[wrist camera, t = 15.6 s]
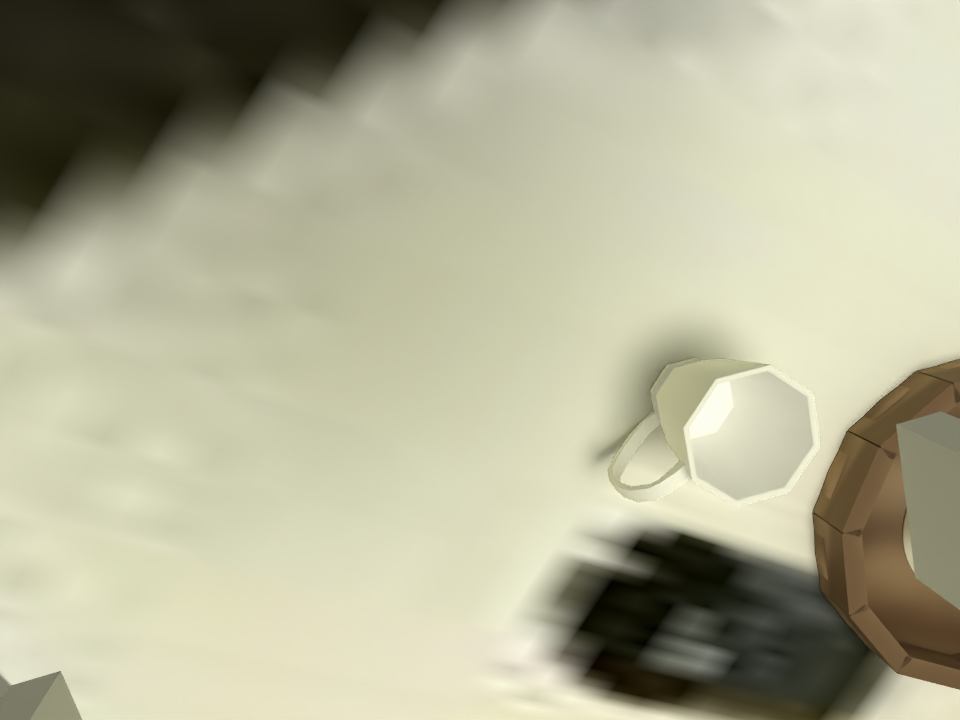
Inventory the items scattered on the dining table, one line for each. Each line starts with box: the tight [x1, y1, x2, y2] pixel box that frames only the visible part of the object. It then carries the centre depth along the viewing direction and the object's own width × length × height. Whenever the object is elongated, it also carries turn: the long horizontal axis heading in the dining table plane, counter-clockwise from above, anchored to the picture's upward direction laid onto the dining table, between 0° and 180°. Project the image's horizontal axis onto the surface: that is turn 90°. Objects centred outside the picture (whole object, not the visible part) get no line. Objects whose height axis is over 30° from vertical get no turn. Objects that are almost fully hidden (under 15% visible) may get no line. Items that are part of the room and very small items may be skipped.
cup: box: [608, 358, 821, 507], centre depth 41 cm, size 7×10×8 cm
